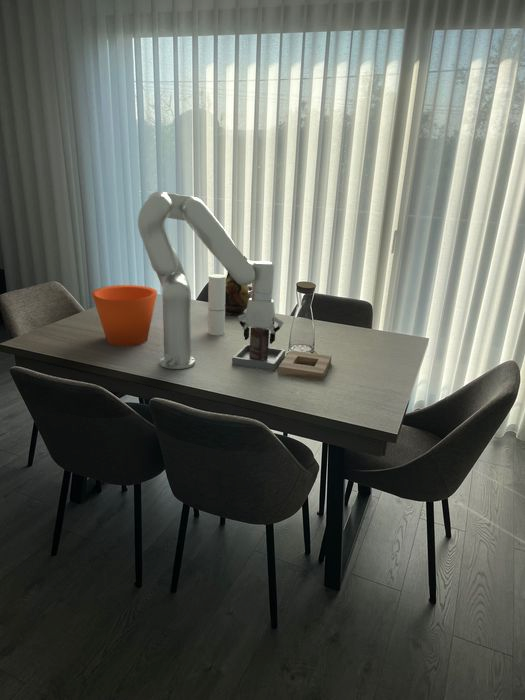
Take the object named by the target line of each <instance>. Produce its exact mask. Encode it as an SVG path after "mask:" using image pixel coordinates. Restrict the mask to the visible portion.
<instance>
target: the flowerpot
mask: <svg viewBox="0 0 525 700" xmlns="http://www.w3.org/2000/svg"><path fill="white" fill-rule="evenodd" d="M91 294H92V298H93V302H94V304H95V308H96V310H97V315H98V318H99V320H100V324H101V326H102V329H103V332H104V335H105V336H104V337H105V340H106V342H107V343H108V344H110V345H113V346H116V347H131V346H133V347H134V346H138V345H139V346H140V345H142V344H145V343H146V342H147V341H148V338H149V334H150V329H151V323H152V319H153V315H154V310H155V304H156V299H157V296H158V290H156V289H155V288H152V287H148V286H145V285H144V286H143V285H136V284H121V285H120V284H119V285H109V286H104V287H99V288H96V289H94V290H93V291H92V292H91Z"/></svg>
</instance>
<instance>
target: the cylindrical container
mask: <svg viewBox="0 0 525 700" xmlns="http://www.w3.org/2000/svg"><path fill="white" fill-rule="evenodd" d="M226 277H227V275H225V274H220V273H219V274H218V273H217V274H216V273H213V274H208V287H207V288H208V299H207V300H208V301H207V303H208V304H207V305H208V306H207V307H208V308H207V309H208V312H207V317H208V318H207V321H208V322H207V333H208V334H209V335H212V336H222V335H225V332H226V331H225V330H226V329H225V328H226V327H225V326H226V325H225V324H226V313H225V287H226Z"/></svg>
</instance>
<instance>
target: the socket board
mask: <svg viewBox="0 0 525 700" xmlns="http://www.w3.org/2000/svg"><path fill="white" fill-rule="evenodd" d="M331 363H332V355H326V354H320V353H311V352H306V351H305V352H304V351H299V350H298V351H297V350H296V351H295V350H292V349H291V350H289V351H288V353H287V354H286V355H285V357H284V359H283V360H282V361H281V363H280V364H279V365H278V367H277V370H278V371H277V375H279V376H286V377H294V378H300V379H306V380H311V381H319V382H323V381H324V378H325V377H326V376H327V375H326V374H327V373H328V370H329V368H330V366H331Z"/></svg>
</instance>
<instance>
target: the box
mask: <svg viewBox="0 0 525 700" xmlns="http://www.w3.org/2000/svg"><path fill="white" fill-rule="evenodd" d="M249 345H250V354H249V358H251V359H254V360H259V361H265V360H267V359H268V347H269V345H270V329H266V328H258V327H252V326H251V327H250V332H249Z"/></svg>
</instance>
